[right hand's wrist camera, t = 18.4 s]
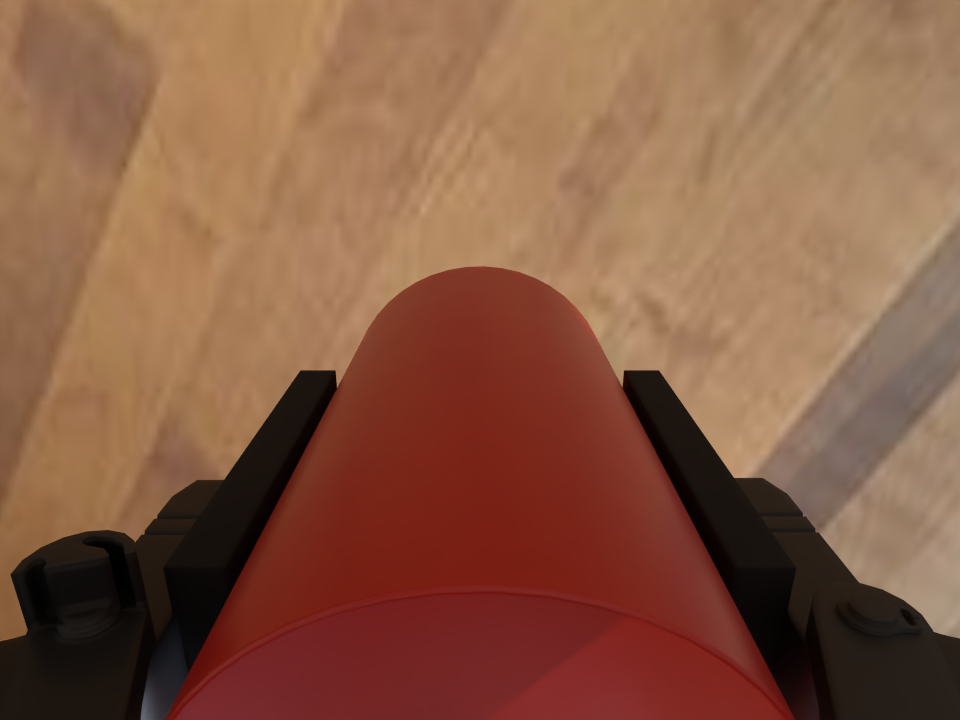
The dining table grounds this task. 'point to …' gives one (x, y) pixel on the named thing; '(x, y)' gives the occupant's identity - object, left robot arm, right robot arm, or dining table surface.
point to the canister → (479, 541)
